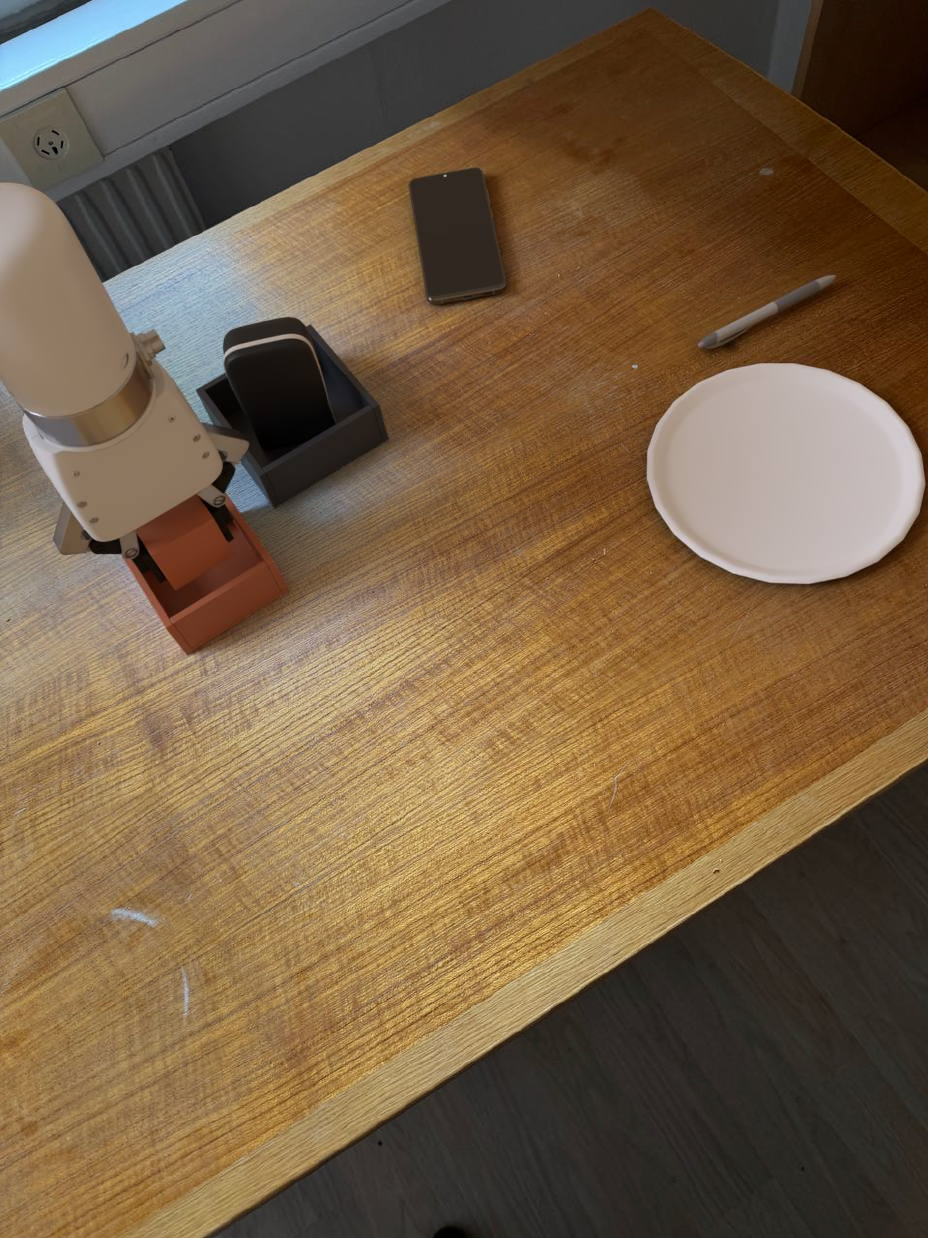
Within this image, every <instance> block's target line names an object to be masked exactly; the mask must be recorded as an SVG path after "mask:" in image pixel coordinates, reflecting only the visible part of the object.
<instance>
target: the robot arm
mask: <svg viewBox="0 0 928 1238" xmlns="http://www.w3.org/2000/svg"><path fill="white" fill-rule="evenodd" d="M166 349H167V348H166V345H165V344H164V342H163V340H162V339H161V337H160V335H159V334H158V332H157V331H156V330H155V328H153V329H151V330H149V331H147V332H145V333H142V332H140V333H139V334H137V335H136V334H135V332H134V331H131V332H130V330H129V329H128V327H127V326H126V324H125V322H124V320H123V319H122V317H121V315H120V312H119V311H118V309H117V308H116V305H115V304H114V302H113V300H112V299H111V297H110V295H109V292H108V291H107V289H106V288H105V285H104V284H103V282H102V280H101V278H100V277H99V275H98V272H97V270H96V269H95V267H94V266H93V264H92V262H91V260H90V258H89V257H88V254H87V252H86V250H85V248H84V247H83V245H82V243H81V241H80V240H79V237H78V236H77V234H76V232H75V231H74V229H73V227H72V225H71V223H70V221H69V220H68V219H67V217H66V215H65V214H64V212H63V210H62V209H61V208H60V207H59V206H58V204H57V203H56V202H55V201H54V200H53V199H51V198H50V197H49V196H47V195H46V194H45V193H44V192H42V191H41V190H39V189H36V188H34V187H32V186H29V185H26V184H22V183H19V182H18V183H17V182H0V383H2V385H3V386H4V387H5V389H6V390H7V392H8V393H9V394H10V395H11V397H12V398H13V399H14V401H15V402H16V404H17V405H18V406H19V408H20V409H21V410H22V412H23V413H24V414H23V417H22V428H23V432H24V435H25V437H26V439H27V442H28V444H29V446H30V449H31V450H32V452H33V454H34V456H35V458H36V460H37V461H38V463H39V465H40V466H41V467H42V470H43V472H44V473H45V474H46V476H47V477H48V479H49V480H50V483H52V485H53V486H54V488H55V490H56V491H57V493H58V494H59V496H60V497H61V499H62V500H63V501H62V505H61V509H60V513H59V516H58V519H57V523H56V525H55V526H56V527H55V529H54V534H53V537H52V542H53V543H54V545H55V546H56V548H57V550H58V552H59V553H60V555H63V556H72V555H80V554H81V555H82V554H87V553H90V552H91V553H92V554H94V555H120V554H122V556H123V557H124V558H125V559H127V560H130V559H131V560H132V561H133V563H134V564H135V565H136V567H137V568H138V569H139V571H140V572H141V573H142V574H145V573H146V572H148V571H150V570H151V571H152V573H153V574H154V575H155V577H156V578H157V580H158V581H159V582H160V584H161V583H162V582H164V581H165V580H166V576H165V575H164V573H163V572H162V570H161V569H160V568H159V566H158V565H157V563H156V562H155V561H154V559H153V558H152V556H151V555H150V553H149V552H148V550H147V549H146V547H145V545H144V544H143V542H142V541H141V539H140V537H139V536H138V534H137V533H136V529H137V528H139V527H141V526H142V525H144V524H146V523H148V522H149V521H151V520H153V519H154V518H156V517H158V516H160V515H161V514H163V513H165V512H166V511H168V510H170V509H171V508H173V507H175V506H176V505H178V504H180V503H181V502H183V501H185V500H187V499H188V498H190V497H191V496H193V495H195V494H196V495H198V496H199V498H200V499H201V500H202V502H203V503H204V505H205V506H206V508H207V509H208V511H209V512H210V514H211V515H212V517H213V518H214V520H215V521H216V523H217V525H218V527H219V528H220V530H221V532H222V534H223V535H224V537H225V539H226V541H228V542H230V541H232V540H233V539H234V537H233V535H232V534H231V532H230V530H229V528H228V527H227V525H226V524H228V523H230V522H231V521H233V520H234V519H233V518H232V516H231V514H230V512H229V510H228V508H227V507H226V505H225V503H226V501H227V496H226V495H225V494H224V493H225V492H226V491H227V489H228V487H229V485H230V484H231V482H232V480H233V477H234V476H235V473H236V466H237V465H238V464H239V463H241V462H240V460H241V459H242V457H243V456H244V454H245V452H246V451H247V449H248V448H249V442H248V441H247V440H246V438H245V437H244V435H243V434H242V433H241V431H239V430H235V429H230V428H226V427H221V426H217V425H213V424H212V423H209V422H203V421H201V420H200V418H199V416H198V415H197V413H196V412H195V410H194V409H193V407H192V406H191V404H190V402H189V401H188V399H187V397H186V396H185V394H184V392H182V390H181V388H180V387H179V386H178V384H177V383H176V382H175V380H174V379H173V377H172V376H171V374H170V373H169V371H167V370H166V369H165V367H163V365H162V364H161V363H160V362H159V361H158V360H157V359H156V358H157V355H158V354H160V353H161V352H163V351H165V350H166ZM122 556H121V557H122Z"/></svg>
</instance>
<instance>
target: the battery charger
mask: <svg viewBox="0 0 928 1238" xmlns="http://www.w3.org/2000/svg"><path fill="white" fill-rule="evenodd" d="M306 326H307V325H305V323H304V322H303V321H301V320H300V319H299V318H297V317H294V316H283V317H277V318H272V319H268V320H267V319H266V320H263V321H258V322H254V323H249V324H246V325H242V326H238V327H235V328H232V329H230V330H229V331H227V333H226V334H225V335H224V337H223V342H222V352H223V353H222V354H223V357H222V364H223V369H224V373H225V372H226V375H227V377H228V380H229V382H230V385H231V387H232V389H233V391H234V394H235V396H236V398H237V400H238V402H239V404H240V406H241V407H242V409H243V411H244V413H245V415H246V417H247V419H248V420H249V422H250V424H251V426H252V428H253V430H254V432H255V434H256V437H257V439H258V442H259V444H260V447H261V448H262V449H264V450H265V449H270V448H276V447H281V446H286V445H291V444H296V443H300V442H305V441H309V440H311V439H312V438H314V437H316V436H317V435H319V434H321V433H322V432H324V431H326V430H327V429H329V428H331V427H332V426H334V425H336V424H337V421H336V419H335V416H334V413H333V411H332V408H331V405H330V402H329V399H328V395H327V390H326V386H325V383H324V379H323V375H322V372H321V369H320V363H319V360H318V357H317V354H316V350H315V347H314V345H313V342H312V339H311V337H310V334H309V332H308V329H307V328H306Z"/></svg>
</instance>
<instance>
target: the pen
mask: <svg viewBox="0 0 928 1238" xmlns="http://www.w3.org/2000/svg"><path fill="white" fill-rule="evenodd" d="M836 278H837V275H836V274H831V275H829V274H828V275H825V276H822V277H820V278H817V279H814V280H812V281H810V282H808V283H806V284H804V285H802V286H800V287H798V288H796V289H794V290H792V291H791V292H789V293H786V294H785V295H783V296H781V297H779V298H777V299H775V300H773V301H771V302H769V303H768V304H766V305H764V306H762V307H760V308H758V309H756V310H754V311H752V312H750V313H748V314H747V315H745V316H742V317H741V318H738V319H737V320H735V321H733V322H730V323H729V324H726V325H725V326H723V327H720V328H719V329H717V330H714V331H713V332H711V333H709V334H708V335H706V336H704V337H703V338H702V339H701V340H700V342H698V344H697V347H698V348H699V349H701V348H706V349H708V350H711V349H712V350H713V349H716V348H719V347H721V346H724V345H725V344H727V343H730V342H731V341H733V340H734V339H736V338H738V337H740V336H741V335H742V334H744V333H745V332H747V331H748V330H749V329H750V328H752V327H753V325H755V324H757V323H759V322H762V321H763V320H765V319H767V318H769V317H771V316H774V315H776V314H778V313H779V312H781V311H783V310H785V309H787V308H790V307H791V306H794V305H795V304H797V303H799V302H802V301H803V300H805V299H807V298H809V297H810V296H813V295H814V294H817V293H818V292H820V291H822V290H824V289H825V288H826V287H828V286H830V285H831V284H832V283H833V282H834V281H835V280H836Z"/></svg>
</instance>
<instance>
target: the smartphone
mask: <svg viewBox="0 0 928 1238" xmlns="http://www.w3.org/2000/svg"><path fill="white" fill-rule="evenodd" d="M408 193H409V199H410V204H411V211H412V218H413V223H414V230H415V235H416V241H417V248H418V253H419V260H420V261H419V262H420V267H421V272H422V273H421V275H422V280H423V285H424V291H425V297H426V301H427V302H428V303H429V304H430V305H432V306H438V305H443V304H449V303H456V302H459V301H466V300H472V299H477V298H483V297H487V296H488V297H489V296H493V295H498V294H499V295H500V294H502V293H504V292H505V291H506V290H507V287H508V283H507V278H506V274H505V269H504V268H505V267H504V264H503V260H502V254H501V249H500V245H499V240H498V236H497V231H496V226H495V222H494V214H493V210H492V207H491V200H490V195H489V190H488V188H487V183H486V179H485V173H484V171H483V169H482V168H480V167H478V166H473V167H467V168H463V169H462V168H461V169H457V170H451V171H446V172H440V173H435V174H430V175H429V174H428V175H424V176H418V177H414V178H412V179H410V181H408Z"/></svg>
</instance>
